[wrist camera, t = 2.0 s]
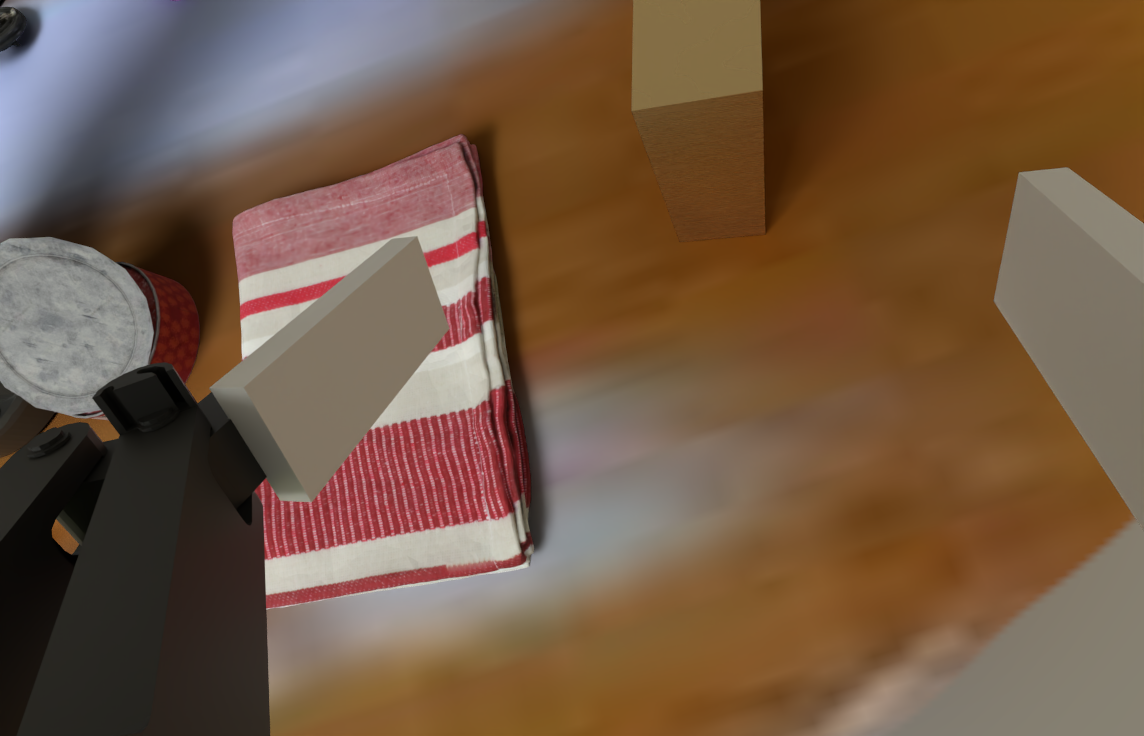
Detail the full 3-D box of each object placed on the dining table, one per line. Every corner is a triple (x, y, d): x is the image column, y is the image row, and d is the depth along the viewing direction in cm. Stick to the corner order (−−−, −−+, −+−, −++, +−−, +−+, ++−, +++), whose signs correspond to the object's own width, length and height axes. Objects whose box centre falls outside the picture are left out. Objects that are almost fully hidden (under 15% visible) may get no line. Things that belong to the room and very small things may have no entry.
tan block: (679, 241, 30) (631, 111, 19) (679, 60, 31) (635, -147, 21) (765, 234, 28) (762, 90, 18) (760, 46, 30) (755, -182, 20)
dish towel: (485, 144, 35) (464, 118, 32) (549, 564, 29) (529, 571, 27) (251, 229, 39) (216, 212, 37) (267, 609, 34) (227, 618, 31)
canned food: (236, 298, 44) (175, 222, 35) (219, 432, 41) (146, 388, 32) (62, 295, 42) (-52, 214, 33) (29, 436, 39) (-108, 390, 30)
